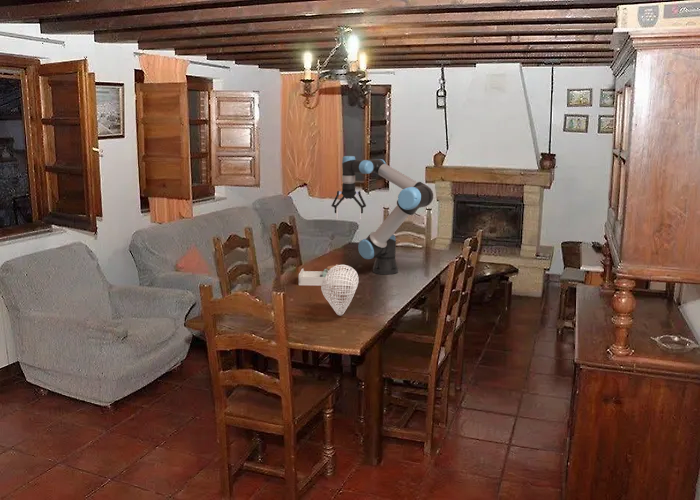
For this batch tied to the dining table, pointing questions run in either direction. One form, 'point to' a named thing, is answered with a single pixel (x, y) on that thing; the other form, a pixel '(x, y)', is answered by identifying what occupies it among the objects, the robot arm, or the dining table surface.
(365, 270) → the dining table surface
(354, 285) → the heart
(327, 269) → the lidded jar
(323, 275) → the pusher
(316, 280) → the pusher lane
